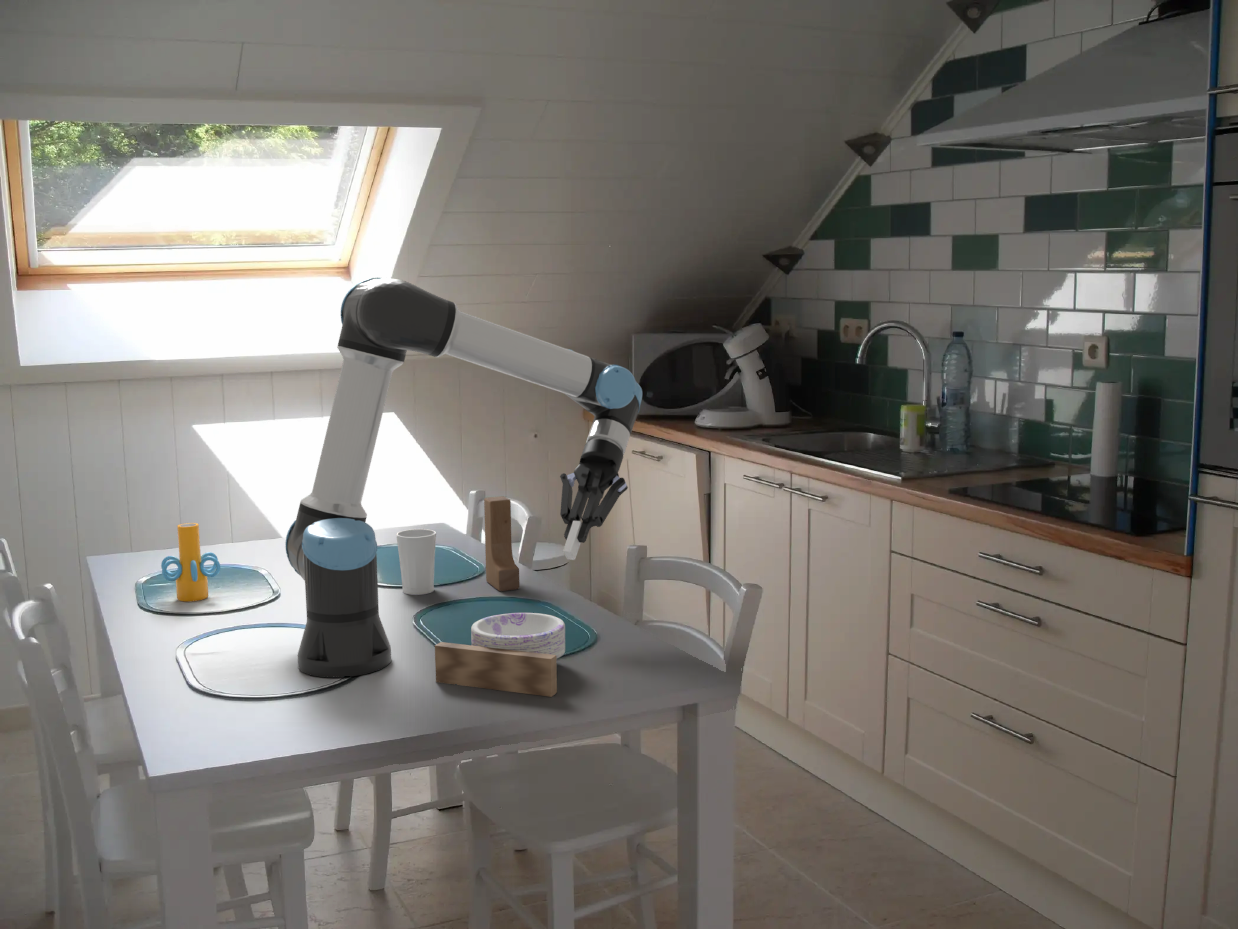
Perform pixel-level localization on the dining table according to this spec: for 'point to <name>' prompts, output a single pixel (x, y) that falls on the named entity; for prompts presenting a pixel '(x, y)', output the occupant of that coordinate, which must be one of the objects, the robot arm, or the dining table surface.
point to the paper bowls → (521, 633)
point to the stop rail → (496, 669)
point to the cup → (417, 560)
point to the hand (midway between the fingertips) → (568, 555)
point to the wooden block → (499, 545)
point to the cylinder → (190, 565)
